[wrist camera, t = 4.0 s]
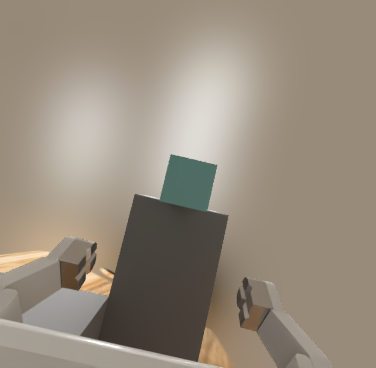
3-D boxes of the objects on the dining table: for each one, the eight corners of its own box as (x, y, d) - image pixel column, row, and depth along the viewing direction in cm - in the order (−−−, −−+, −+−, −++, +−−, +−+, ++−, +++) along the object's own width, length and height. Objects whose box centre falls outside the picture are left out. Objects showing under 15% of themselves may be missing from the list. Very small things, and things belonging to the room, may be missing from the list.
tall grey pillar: (170, 847, 10) (284, 231, 12) (-384, 758, 9) (-144, 133, 12) (176, 378, 36) (213, 210, 38) (31, 347, 35) (78, 179, 38)
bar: (206, 211, 17) (217, 165, 18) (159, 200, 17) (170, 154, 17) (190, 205, 41) (195, 185, 41) (171, 201, 41) (175, 181, 41)
